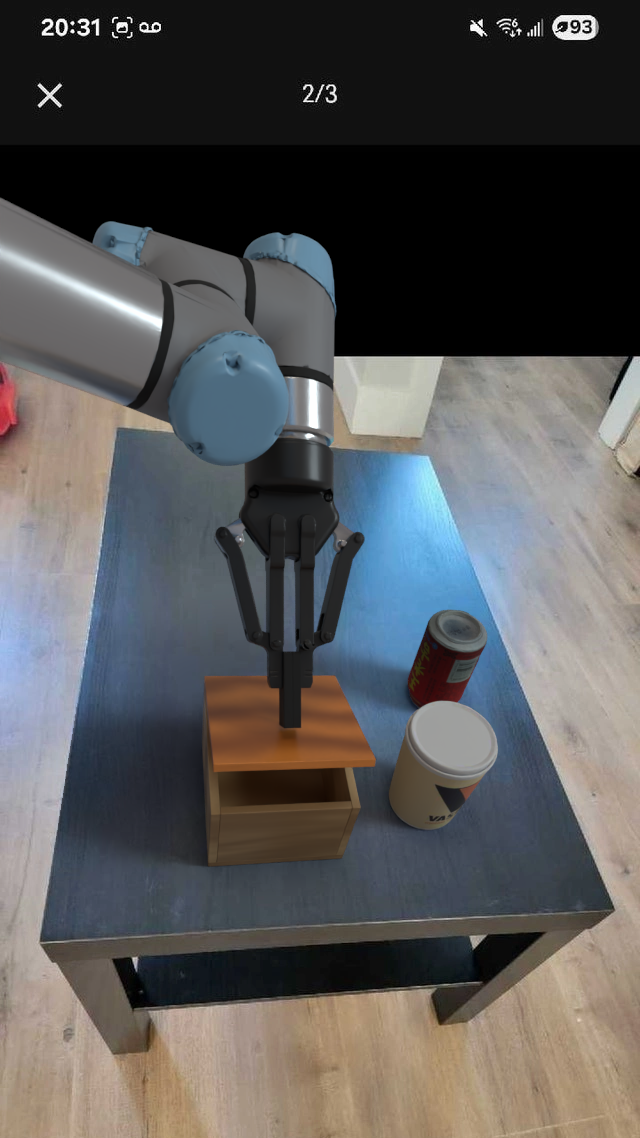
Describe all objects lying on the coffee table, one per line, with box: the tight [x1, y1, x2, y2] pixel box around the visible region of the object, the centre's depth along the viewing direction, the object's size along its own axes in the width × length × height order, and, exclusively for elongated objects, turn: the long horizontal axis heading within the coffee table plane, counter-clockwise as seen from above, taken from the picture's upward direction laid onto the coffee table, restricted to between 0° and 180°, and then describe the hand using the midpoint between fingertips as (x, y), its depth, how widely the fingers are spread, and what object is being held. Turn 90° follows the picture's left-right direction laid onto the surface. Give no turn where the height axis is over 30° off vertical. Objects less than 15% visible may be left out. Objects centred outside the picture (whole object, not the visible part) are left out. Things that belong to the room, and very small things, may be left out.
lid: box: [203, 675, 377, 772], centre depth 64 cm, size 16×14×1 cm
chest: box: [201, 685, 362, 867], centre depth 70 cm, size 16×14×10 cm
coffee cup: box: [388, 701, 499, 831], centre depth 72 cm, size 9×9×12 cm
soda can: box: [407, 609, 488, 709], centre depth 82 cm, size 7×7×12 cm
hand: (290, 726), depth 60 cm, fingers closed
